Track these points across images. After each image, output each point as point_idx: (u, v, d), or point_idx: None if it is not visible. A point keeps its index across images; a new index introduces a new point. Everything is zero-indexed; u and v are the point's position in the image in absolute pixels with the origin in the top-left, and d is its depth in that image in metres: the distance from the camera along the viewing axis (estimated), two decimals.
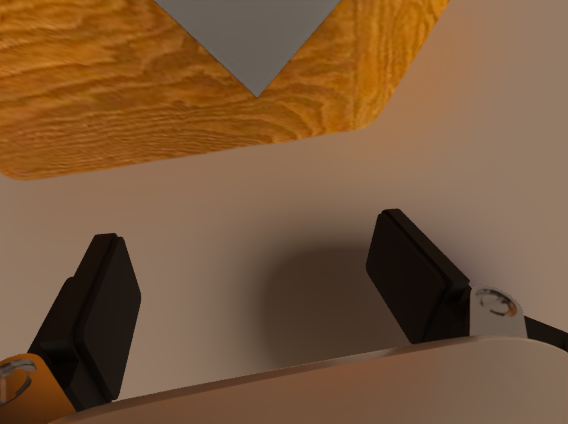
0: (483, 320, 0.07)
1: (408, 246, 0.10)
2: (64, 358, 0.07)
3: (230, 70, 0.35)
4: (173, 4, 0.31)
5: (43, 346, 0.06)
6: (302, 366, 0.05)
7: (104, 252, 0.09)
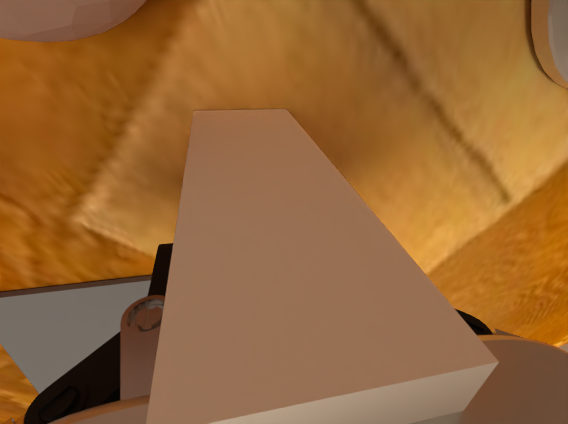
0: None
1: None
2: None
3: None
4: (22, 341, 0.17)
5: None
6: None
7: None
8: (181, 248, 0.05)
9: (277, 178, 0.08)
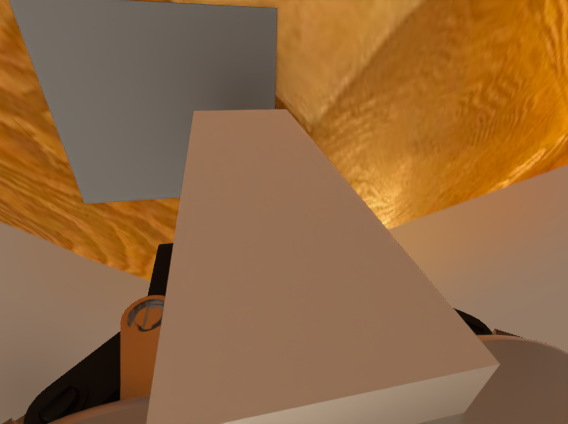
0: None
1: None
2: None
3: (70, 160, 0.26)
4: (45, 54, 0.22)
5: None
6: None
7: None
8: (181, 249, 0.05)
9: (277, 178, 0.08)
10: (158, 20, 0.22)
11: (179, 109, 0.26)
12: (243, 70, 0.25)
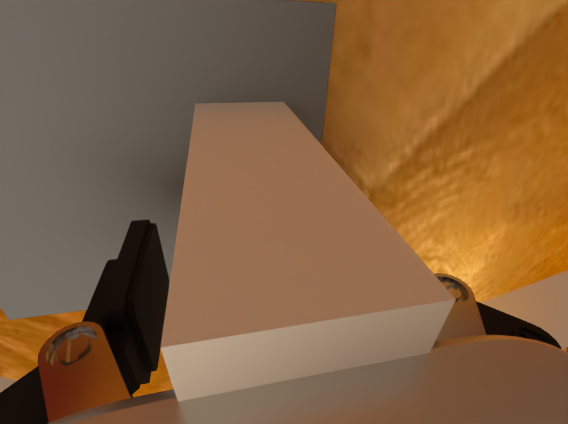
0: None
1: None
2: (117, 327, 0.07)
3: None
4: None
5: (100, 315, 0.07)
6: None
7: (142, 236, 0.09)
8: (186, 216, 0.06)
9: (273, 160, 0.08)
10: (111, 26, 0.11)
11: (158, 178, 0.15)
12: None
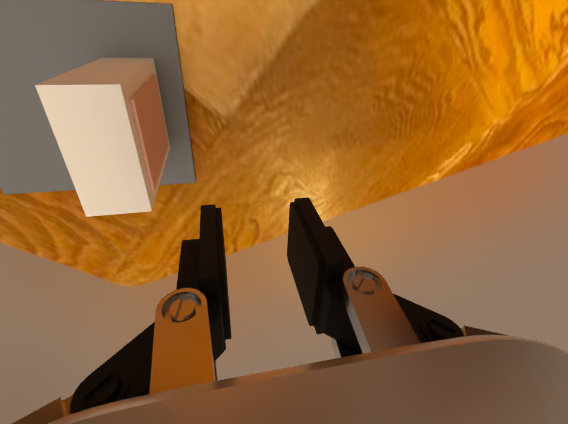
0: (364, 306, 0.08)
1: (303, 231, 0.10)
2: (211, 294, 0.08)
3: None
4: None
5: (199, 282, 0.08)
6: (302, 366, 0.05)
7: (214, 218, 0.10)
8: (60, 76, 0.18)
9: (110, 69, 0.20)
10: (52, 15, 0.23)
11: None
12: None
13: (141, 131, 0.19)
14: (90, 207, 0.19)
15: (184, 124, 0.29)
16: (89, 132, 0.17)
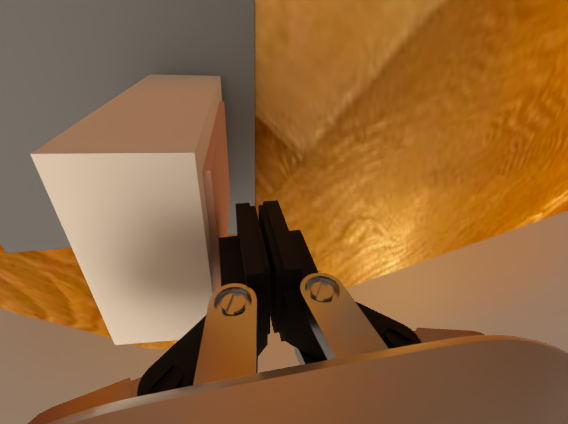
0: (326, 316, 0.07)
1: (267, 236, 0.10)
2: (257, 289, 0.08)
3: None
4: None
5: (247, 278, 0.08)
6: (302, 366, 0.05)
7: (251, 216, 0.11)
8: (84, 121, 0.10)
9: (167, 103, 0.12)
10: (82, 13, 0.15)
11: None
12: None
13: (215, 218, 0.11)
14: (122, 333, 0.12)
15: (250, 162, 0.22)
16: (128, 231, 0.09)
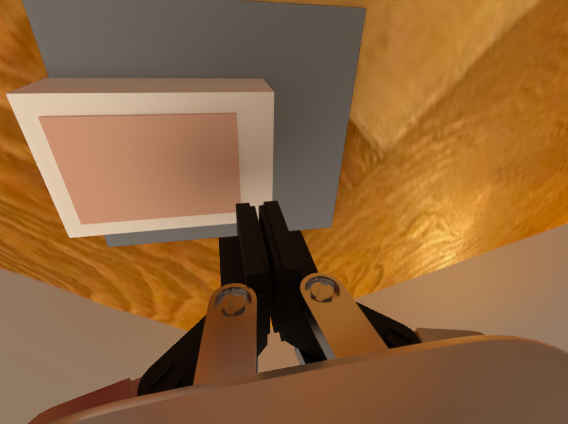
0: (326, 316, 0.07)
1: (267, 236, 0.10)
2: (257, 289, 0.08)
3: None
4: (66, 67, 0.16)
5: (247, 278, 0.08)
6: (302, 366, 0.05)
7: (251, 216, 0.11)
8: (101, 78, 0.17)
9: (140, 85, 0.16)
10: (215, 23, 0.17)
11: None
12: (314, 87, 0.20)
13: (57, 156, 0.15)
14: None
15: (338, 160, 0.23)
16: None
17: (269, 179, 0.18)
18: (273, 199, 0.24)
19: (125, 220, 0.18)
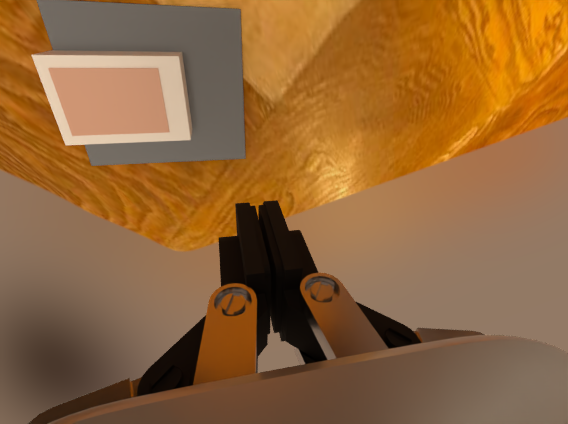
0: (326, 316, 0.07)
1: (267, 236, 0.10)
2: (257, 289, 0.08)
3: None
4: (63, 44, 0.29)
5: (247, 278, 0.08)
6: (302, 366, 0.05)
7: (251, 216, 0.11)
8: (83, 51, 0.29)
9: (104, 53, 0.28)
10: (149, 18, 0.29)
11: None
12: (216, 57, 0.32)
13: (58, 91, 0.27)
14: None
15: (241, 107, 0.35)
16: None
17: (184, 111, 0.31)
18: (200, 135, 0.36)
19: (98, 134, 0.30)
